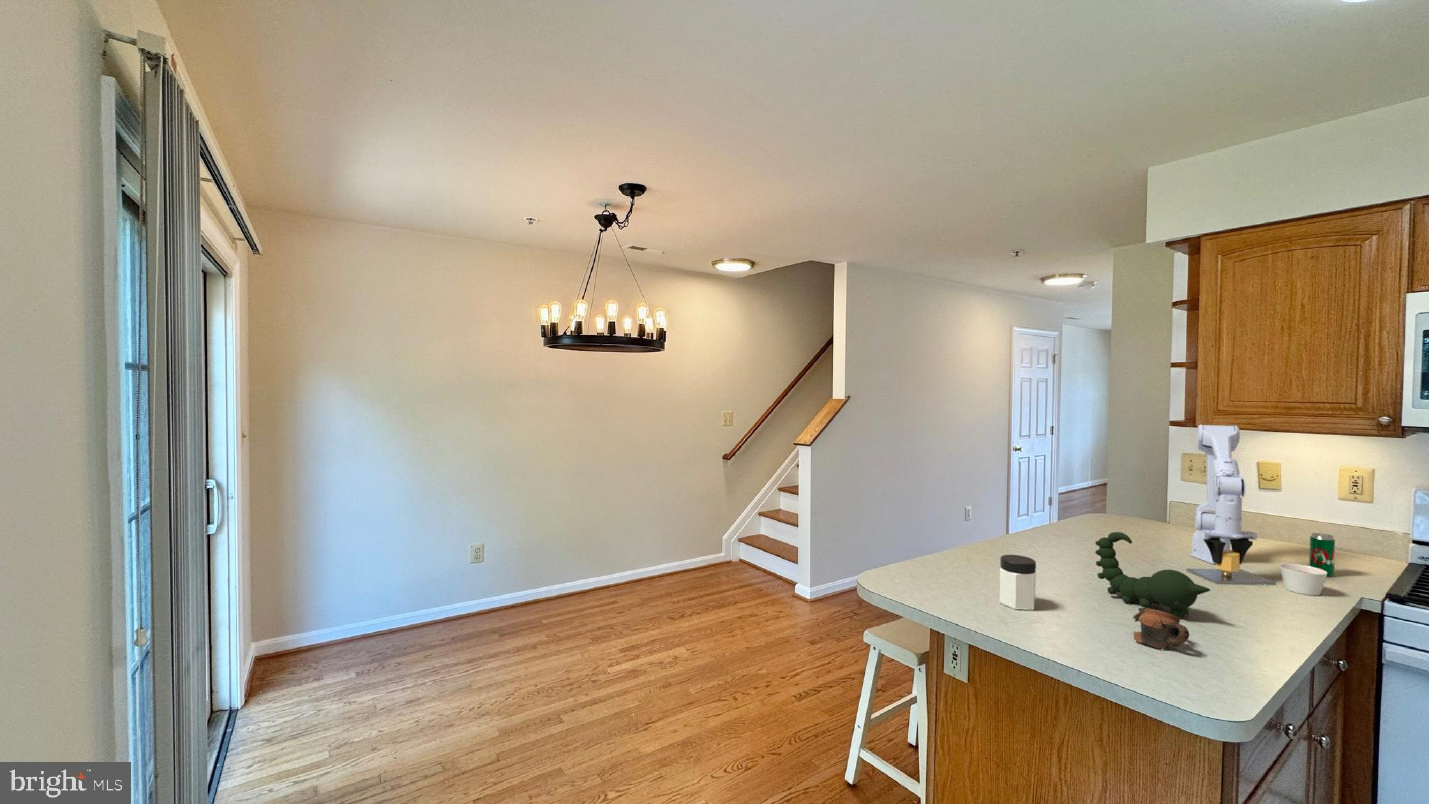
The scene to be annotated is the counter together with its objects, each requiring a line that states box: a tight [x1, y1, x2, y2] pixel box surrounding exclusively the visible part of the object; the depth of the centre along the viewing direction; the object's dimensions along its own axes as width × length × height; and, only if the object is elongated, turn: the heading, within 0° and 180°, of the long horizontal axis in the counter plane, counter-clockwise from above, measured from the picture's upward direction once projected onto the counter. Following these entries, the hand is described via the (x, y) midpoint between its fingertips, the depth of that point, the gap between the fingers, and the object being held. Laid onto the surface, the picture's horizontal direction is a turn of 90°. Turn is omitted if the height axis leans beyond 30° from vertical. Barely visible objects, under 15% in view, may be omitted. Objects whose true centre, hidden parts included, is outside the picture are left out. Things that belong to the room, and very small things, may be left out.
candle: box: [1279, 563, 1327, 597], centre depth 154 cm, size 9×9×6 cm
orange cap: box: [1215, 549, 1241, 572], centre depth 163 cm, size 5×5×5 cm
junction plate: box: [1185, 568, 1276, 586], centre depth 165 cm, size 11×16×4 cm
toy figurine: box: [1094, 531, 1211, 619], centre depth 143 cm, size 9×19×25 cm
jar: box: [999, 554, 1037, 610], centre depth 146 cm, size 9×8×12 cm
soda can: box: [1308, 532, 1336, 578], centre depth 168 cm, size 5×5×12 cm
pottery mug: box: [1132, 607, 1190, 651], centre depth 124 cm, size 12×10×8 cm
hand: (1227, 563), depth 163 cm, fingers closed on orange cap, 5 cm apart
